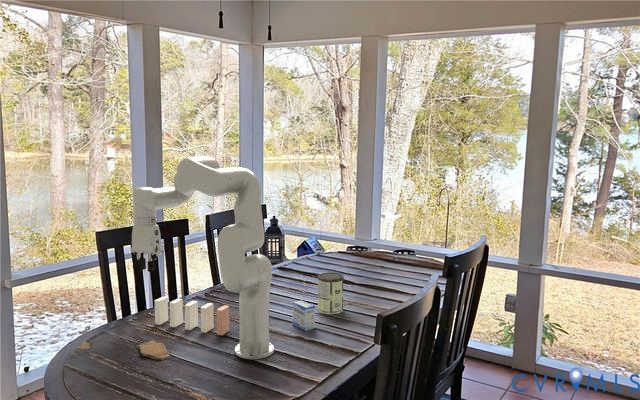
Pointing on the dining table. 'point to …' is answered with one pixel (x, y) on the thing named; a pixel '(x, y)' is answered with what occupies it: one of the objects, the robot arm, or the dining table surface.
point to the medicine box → (303, 315)
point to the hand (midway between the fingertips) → (146, 269)
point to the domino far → (161, 310)
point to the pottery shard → (153, 350)
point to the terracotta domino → (222, 320)
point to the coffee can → (330, 293)
